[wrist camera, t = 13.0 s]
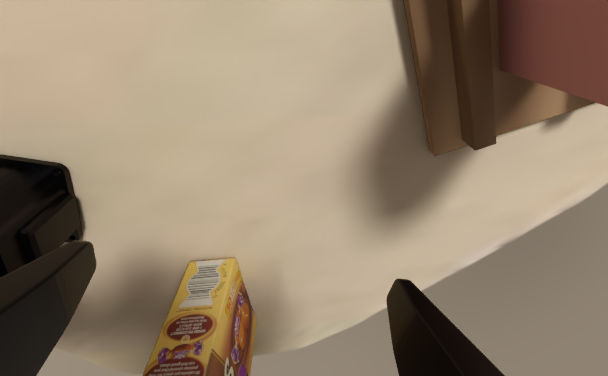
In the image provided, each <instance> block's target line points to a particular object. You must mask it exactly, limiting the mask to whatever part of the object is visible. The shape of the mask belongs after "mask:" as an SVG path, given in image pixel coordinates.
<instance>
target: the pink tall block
mask: <svg viewBox="0 0 608 376" xmlns="http://www.w3.org/2000/svg"><path fill="white" fill-rule="evenodd" d="M498 25H499V51H500V71H503V72H506V73H509V74H512V75H515V76H518V77H521V78H524V79H527V80H530V81H533V82H536V83H539V84H542V85H545V86H548V87H551V88H554V89H557V90H560V91H563V92H566V93H569V94H572V95H575V96H578V97H581V98H584V99H587V100H590V101H593V102H596V103H599V104H602V105H605V106H608V0H498Z"/></svg>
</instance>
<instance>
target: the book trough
mask: <svg viewBox="0 0 608 376" xmlns="http://www.w3.org/2000/svg"><path fill="white" fill-rule="evenodd" d="M404 5H405V10H406V16H407V22H408V28H409V33H410V39H411V45H412V50H413V56H414V62H415V68H416V73H417V79H418V85H419V90H420V96H421V102H422V108H423V113H424V119H425V125H426V130H427V136H428V142H429V147H430V151H431V153H432V154H433V155H434V156H437V155H440V154H443V153H446V152H449V151H452V150H455V149H458V148H461V147H464V146H467V145H469V146H470V147H471V148H473V149H474V150H478V149H481V148H484V147H487V146H490V145H493V144H496V136H497V135H500V134H503V133H506V132H509V131H512V130H514V129H517V128H520V127H523V126H526V125H529V124H532V123H535V122H538V121H541V120H544V119H547V118H550V117H553V116H556V115H559V114H562V113H565V112H568V111H571V110H574V109H577V108H580V107H583V106H586V105H589V104H592V103H595V102H593V101H590V100H587V99H584V98H581V97H578V96H575V95H572V94H569V93H566V92H563V91H560V90H557V89H554V88H551V87H548V86H545V85H542V84H539V83H536V82H533V81H530V80H527V79H524V78H521V77H518V76H515V75H512V74H509V73H506V72H503V71H500V51H499V25H498V0H404Z"/></svg>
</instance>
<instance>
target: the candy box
mask: <svg viewBox="0 0 608 376" xmlns="http://www.w3.org/2000/svg"><path fill="white" fill-rule="evenodd" d="M256 323H257V322H256V319H255V315H254V312H253V309H252V306H251V304H250V300H249V297H248V294H247V291H246V288H245V286H244V283H243V280H242V276H241V273H240V270H239V267H238V264H237V261H236V258H234V257H233V258H222V259H211V260H203V261H190V262H189V264H188V266H187V269H186V271H185V273H184V276H183V278H182V281H181V283H180V286H179V288H178V291H177V293H176V296H175V298H174V300H173V303H172V305H171V308H170V310H169V313H168V315H167V317H166V320H165V322H164V325H163V327H162V329H161V332H160V334H159V337H158V339H157V342H156V344H155V347H154V349H153V352H152V354H151V356H150V359H149V361H148V363H147V366H146V368H145V371H144V373H143V376H250V372H251V363H252V356H253V347H254V339H255V330H256Z"/></svg>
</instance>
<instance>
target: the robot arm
mask: <svg viewBox="0 0 608 376" xmlns="http://www.w3.org/2000/svg"><path fill="white" fill-rule="evenodd" d="M57 170H58V171H60V173H59V172H58V171H57ZM80 225H81V222H80V218H79V213H78V208H77V204H76V199H75V197H74V194H73V190H72V185H71V181H70V176H69V171H68V169H67V168H66V166H64V165H63V164H60V163H55V162H48V161H41V160H34V159H28V158H21V157H14V156H7V155H0V376H36V375H37V373H38V372H39V370H40V369H41V367H42V366H43V364H44V362H45V361H46V359H47V358H48V356H49V354H50V353H51V351H52V350H53V348H54V347H55V345H56V343H57V342H58V340H59V339H60V337H61V335H62V334H63V332H64V331H65V329H66V327H67V326H68V324H69V322H70V320H71V318H72V317H73V315H74V313H75V311H76V309H77V306H78V304H79V302H80V300H81V298H82V296H83V294H84V292H85V290H86V288H87V286H88V284H89V282H90V280H91V278H92V276H93V274H94V272H95V269H96V259H95V254H94V248H93V245H92V243H91V242H87V241H79V240H80V239H81V238H82V231H81V226H80ZM64 242H70V243H68V244H66V245H64V246H62V247H60V246H61V245H62V244H63V243H64ZM59 247H60V248H59ZM387 308H388V315H389V323H390V331H391V338H392V344H393V351H394V356H395V360H396V364H397V368H398V373H399V376H504V375H503V374H502V373H501V371H499V369H498V368H497V367H495V365H494V364H493V363H492V362H491V361H490V360H488V358H487V357H486V356H485V355H484V354H483V353H482V352H481V351H480V350H479V349H477V347H476V346H475V345H474V344H473V343H472V342H471V341H470V340H469V339H468V338H467V337H466V336H465V335H464V334H463V333H462V332H461V331H460V330H459V329H457V327H456V326H455V325H454V324H453V323H452V322H451V321H450V320H449V319H448V318H447V317H446V316H445V315H444V314H443V313H442V312H441V311H440V310H439V309H438V308H437V307H436V306H435V305H434V304H433V303H432V302H431V301H430V300H429V299H428V298H427V297H426V296H425V295H424V294H423V293H422V292H421V291H420V290H419V289H418V288H417V287H416V286H415V285H414V284H413V283H412V282H411V281H410V280H407V279H396V280H395V281H394V283H393V285H392V287H391V289H390V291H389V293H388V296H387Z"/></svg>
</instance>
